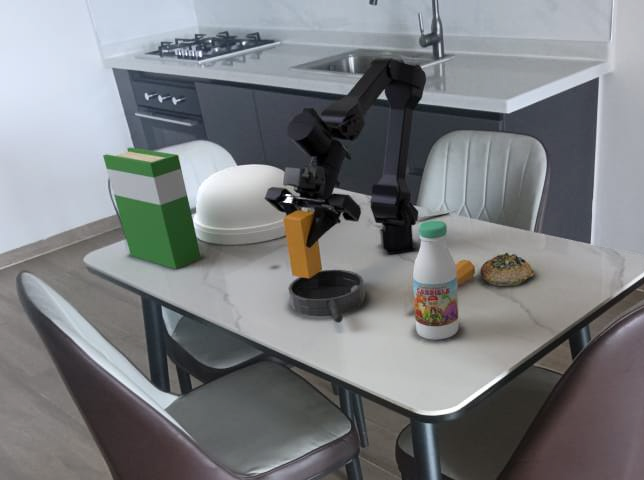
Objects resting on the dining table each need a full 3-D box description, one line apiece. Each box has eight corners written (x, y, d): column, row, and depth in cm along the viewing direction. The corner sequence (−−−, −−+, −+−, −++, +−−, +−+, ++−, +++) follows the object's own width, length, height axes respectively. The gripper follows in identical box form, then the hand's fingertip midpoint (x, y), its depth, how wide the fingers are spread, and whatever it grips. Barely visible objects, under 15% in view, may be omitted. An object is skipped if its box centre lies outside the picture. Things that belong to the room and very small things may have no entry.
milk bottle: (413, 323, 136) (407, 219, 126) (455, 319, 137) (451, 214, 126) (418, 342, 130) (412, 234, 119) (461, 338, 130) (459, 229, 120)
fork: (460, 211, 188) (460, 204, 187) (379, 234, 178) (378, 227, 177) (452, 208, 191) (452, 201, 190) (372, 231, 181) (372, 224, 180)
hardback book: (130, 255, 179) (102, 155, 166) (155, 245, 183) (130, 147, 171) (176, 268, 169) (150, 163, 156) (201, 258, 174) (178, 154, 161)
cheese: (305, 267, 144) (297, 210, 138) (322, 269, 142) (314, 212, 136) (292, 275, 141) (283, 217, 135) (309, 278, 139) (300, 220, 133)
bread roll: (489, 262, 158) (492, 240, 155) (539, 274, 154) (543, 252, 151) (470, 284, 150) (473, 262, 147) (522, 298, 146) (526, 275, 143)
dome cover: (167, 233, 190) (154, 179, 183) (248, 199, 211) (239, 149, 203) (256, 252, 174) (246, 193, 167) (335, 213, 194) (329, 159, 187)
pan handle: (327, 305, 141) (326, 298, 140) (336, 304, 141) (335, 296, 140) (335, 324, 134) (334, 316, 133) (343, 323, 134) (342, 315, 133)
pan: (357, 282, 155) (355, 265, 153) (371, 310, 142) (369, 293, 140) (287, 293, 152) (285, 276, 150) (295, 323, 140) (293, 305, 138)
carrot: (465, 278, 154) (456, 258, 152) (481, 274, 151) (473, 254, 149) (408, 324, 142) (398, 303, 141) (425, 321, 139) (415, 300, 137)
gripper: (262, 144, 137) (234, 220, 135) (345, 150, 128) (318, 232, 126) (293, 174, 147) (268, 246, 145) (373, 181, 138) (347, 258, 136)
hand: (298, 245), depth 138 cm, fingers closed on cheese, 4 cm apart
